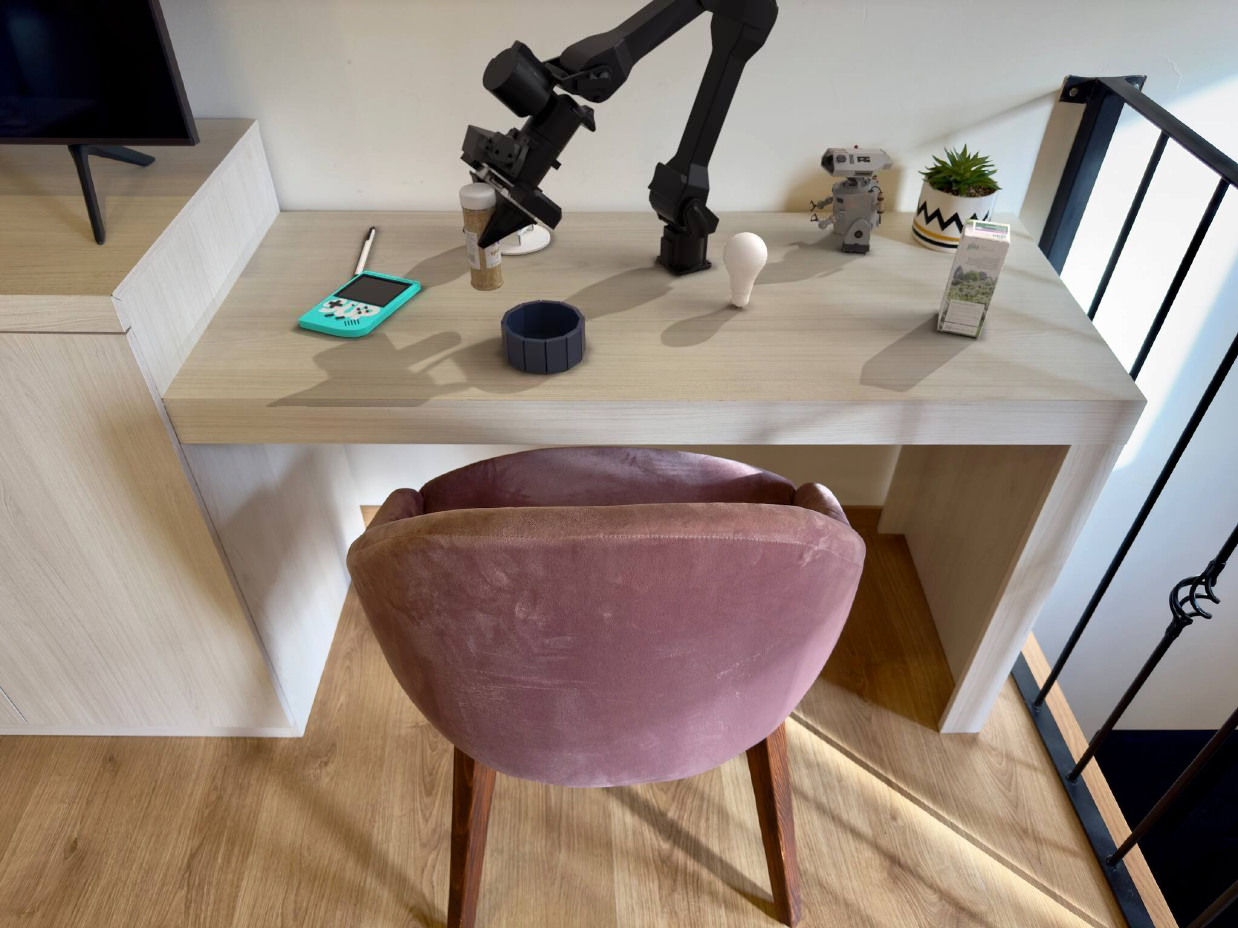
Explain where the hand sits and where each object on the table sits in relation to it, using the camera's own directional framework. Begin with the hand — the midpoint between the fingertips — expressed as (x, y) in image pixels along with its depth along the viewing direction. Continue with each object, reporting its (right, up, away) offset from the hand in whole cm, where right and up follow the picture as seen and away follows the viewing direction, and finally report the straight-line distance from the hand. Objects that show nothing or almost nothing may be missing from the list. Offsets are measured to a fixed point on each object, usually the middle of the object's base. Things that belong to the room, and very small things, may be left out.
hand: (472, 240), depth 111 cm
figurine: (+55, +7, +29) cm, 63 cm away
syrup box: (+67, -10, +9) cm, 68 cm away
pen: (-21, +4, +24) cm, 32 cm away
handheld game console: (-18, -7, +11) cm, 22 cm away
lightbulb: (+36, -6, +12) cm, 39 cm away
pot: (+9, -14, +2) cm, 17 cm away
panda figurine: (+2, +7, +28) cm, 29 cm away
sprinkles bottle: (+1, -5, +5) cm, 7 cm away
